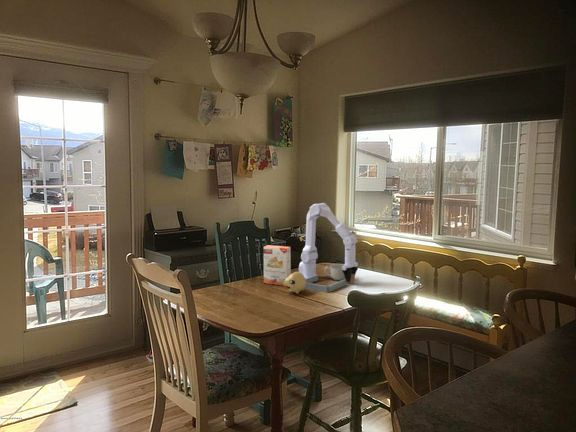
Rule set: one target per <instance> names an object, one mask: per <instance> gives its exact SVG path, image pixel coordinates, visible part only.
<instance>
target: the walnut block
mask: <svg viewBox="0 0 576 432" xmlns="http://www.w3.org/2000/svg"><path fill="white" fill-rule="evenodd" d="M354 284H356V274H351V278H350V282H346V285H354Z"/></svg>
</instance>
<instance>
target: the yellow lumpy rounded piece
mask: <svg viewBox="0 0 576 432" xmlns="http://www.w3.org/2000/svg"><path fill="white" fill-rule="evenodd" d="M283 284H284V286H283V287H285V288H286V289H288V292H290V293H295V294H296V295H297V294H299V293H300V292H301V291H303V290H305V289H306V288H305V284H306V278H305V277H304V276H303V274H301V273H300V272H299V271H295V272H291V275H290V276H289V277H286V278H285V279H283Z"/></svg>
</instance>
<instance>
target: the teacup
mask: <svg viewBox="0 0 576 432" xmlns="http://www.w3.org/2000/svg"><path fill="white" fill-rule="evenodd" d="M344 264H345V263H332V264H330V265H329V266H328V265H327V266H325V267H324V268H323V271H324V273H325V274H326V275H327V276H328V277H330V278H332V280H335V281H338V282H339V281H342V280H344V279H345V275H344V273H343V271H342V266H344ZM327 269H328V271H329V272H328V271H327Z"/></svg>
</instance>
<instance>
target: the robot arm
mask: <svg viewBox="0 0 576 432" xmlns="http://www.w3.org/2000/svg"><path fill="white" fill-rule="evenodd" d="M319 217H324V218H326V219H328V221H329V222H330V223H331V224H332V226H333V227H335V232H336V233H337V234H338V235H339V236H340V238H341V239H342V242H343V245H344V263H343V264H344V266H342V271H343V273H344V275H345V279H346V282H350V278H351V274H355V275H356V273H357V271H358V270H359V262H357V261H356V252H357V251H356V244H357V242H358V237H357V235H356V234H355V233H353V232H352V231H350V229H349V228H348V227H347V225H346V224H345V223H341V222H340V221H339V220H338V218H337V217H336V215H335V214H334V212H333V211H332V210H331V208H330V207H329V206H328V205H327V203H325V202H321V203H313V204H312V205H311V206H310V207H309V210H308V211H307V214H306V222H305V223H306V225H305V227H306V228H305V245H304V247H303V249H302V252H301V255H300V259H301V261H300V262H299V265H298V272H300V273H301V274H303V276H304V277H305V279H306V278H309V277H312V276H315V275H317V271H316V270H317V269H316V267H317V265H316V264H317V259H318V257H319V254H318V248H317V247H316V230H317V229H316V227H317V219H318V218H319ZM319 277H320V276H319V275H318V278H319Z"/></svg>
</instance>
